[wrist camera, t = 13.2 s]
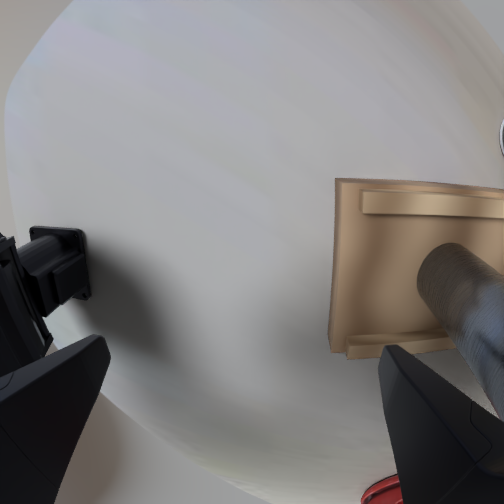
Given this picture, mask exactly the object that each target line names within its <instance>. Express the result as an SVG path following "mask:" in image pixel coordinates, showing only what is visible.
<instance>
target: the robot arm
mask: <svg viewBox="0 0 504 504" xmlns="http://www.w3.org/2000/svg"><path fill="white" fill-rule="evenodd" d="M29 232H30V239H31V242H29V243H27V244H25V245H24V246H22V247H20V248H18V249H16V246H15V243H16V242H15V239H14V236H12V237H8V238H6V237H5V236H3V235H2V234H1V233H0V504H54V502H55V499H56V496H57V494H58V491H59V488H60V485H61V482H62V480H63V477H64V475H65V472H66V469H67V467H68V464H69V462H70V459H71V457H72V454H73V452H74V450H75V447H76V445H77V442H78V440H79V438H80V435H81V433H82V431H83V428H84V426H85V423H86V422H87V419H88V417H89V415H90V412H91V410H92V408H93V406H94V404H95V402H96V399H97V397H98V395H99V392H100V389H101V386H102V383H103V380H104V378H105V375H106V372H107V369H108V366H109V364H110V360H111V355H110V352H109V349H108V346H107V343H106V341H105V338H104V337H103V336H101V335H94V334H93V335H90V336H88V337H86V338H84V339H82V340H80V341H77V342H75V343H73V344H71V345H69V346H67V347H65V348H63V349H60V350H58V351H56V352H54V353H52V354H50V355H48V356H46V357H45V355H46V352H47V351H48V349H49V347H50V345H51V343H52V341H53V337H52V335H51V333H49V331H48V329H47V326H46V324H45V322H44V320H43V318H42V317H47V316H49V315H50V314H51V313H52V312H53V311H54V310H55V309H56V308H58V307H59V306H60V305H63V304H65V303H66V302H67V301H68V300H69V299H70V298H71V297H72V298H77V299H82V300H88V299H89V298H90V297H91V291H90V286H89V280H88V274H87V268H86V262H85V255H84V247H83V240H82V233H81V231H80V230H79V229H72V228H58V227H43V226H33V227H31V228H30V230H29ZM75 234H76V235H77V237H76V235H75ZM85 294H86V295H87V296H86V295H85ZM378 372H379V379H380V386H381V393H382V401H383V409H384V415H385V419H386V424H387V428H388V432H389V436H390V440H391V445H392V449H393V454H394V458H395V463H396V468H397V473H398V478H399V483H400V488H401V494H402V500H403V504H504V422H503V421H502V420H500V419H499V418H497V417H495V416H494V415H492V414H491V413H490V412H488V411H487V410H485V409H484V408H483V407H481V406H480V405H479V404H477V403H476V402H475V401H472V399H470V398H469V397H468V396H466V395H465V394H464V393H462V392H461V391H460V390H458V389H457V388H456V387H454V386H453V385H452V384H450V383H449V382H448V381H446V380H445V379H444V378H442V377H441V376H440V375H438V374H437V373H436V372H434V371H433V370H432V369H430V368H429V367H428V366H426V365H425V364H423V363H422V362H421V361H419V360H418V359H417V358H415V357H414V356H413V355H411V354H410V353H409V352H407V351H406V350H405V349H403V348H402V347H400V346H399V345H397V344H390V345H385V346H384V347H383V350H382V354H381V358H380V362H379V367H378Z"/></svg>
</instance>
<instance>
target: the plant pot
mask: <svg viewBox="0 0 504 504" xmlns="http://www.w3.org/2000/svg"><path fill="white" fill-rule="evenodd" d="M361 504H403V500H402V494H401V488H400V483H399V478H398V475H396V476H393V477H390V478H388V479H385V480H383V481H381V482H379V483H377V484H374V485H373V486H372V487H371V488H369V489H368V490H367V491H366V492H365V493H364V495H363V496H362V498H361Z"/></svg>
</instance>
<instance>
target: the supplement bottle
mask: <svg viewBox="0 0 504 504" xmlns="http://www.w3.org/2000/svg"><path fill="white" fill-rule="evenodd" d="M500 145H501V149H502V152H503V155H504V119H503V122H502V124H501V128H500Z"/></svg>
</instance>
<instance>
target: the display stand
mask: <svg viewBox="0 0 504 504" xmlns="http://www.w3.org/2000/svg"><path fill="white" fill-rule="evenodd" d="M451 242H453V243H458V244H460V245H462V246H464V247H465V248H467V249H468V250H469V251H471V252H472V253H474V254H475V255H476V256H478V257H479V258H481V259H482V260H483V261H485V262H486V263H487V264H489V265H490V266H491V267H493V268H494V269H495V270H497V271H498V272H499V273H500V274H502V275H503V276H504V190H503V189H495V188H487V187H478V186H469V185H459V184H448V183H435V182H422V181H405V180H385V179H355V178H335V226H334V253H333V272H332V288H331V302H330V314H329V325H328V338H329V343H330V349H331V353H340V352H346V356H347V360H348V359H365V358H378V357H381V354H382V350H383V347H384V346H385V345H390V344H397V345H399V346H400V347H402V348H403V349H405V350H406V351H407V352H409V353H410V354H418V353H426V352H433V351H441V350H447V349H454V348H457V347H456V346H455V344H454V343H453V342H452V340H451V339H450V337H449V336H448V334H447V333H446V331H445V330H444V329H443V327H442V326H441V324H440V323H439V321H438V320H437V319H436V317H435V316H434V315H433V313H432V312H431V310H430V309H429V308H428V306H427V305H426V304H425V302H424V301H423V300H422V298H421V297H420V295H419V293H418V290H417V275H418V271H419V268H420V266H421V264H422V262H423V261H424V259H425V258H426V256H427V255H428V254H429V253H430V252H431V251H432V250H433V249H435V248H436V247H438V246H440V245H442V244H445V243H451Z"/></svg>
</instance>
